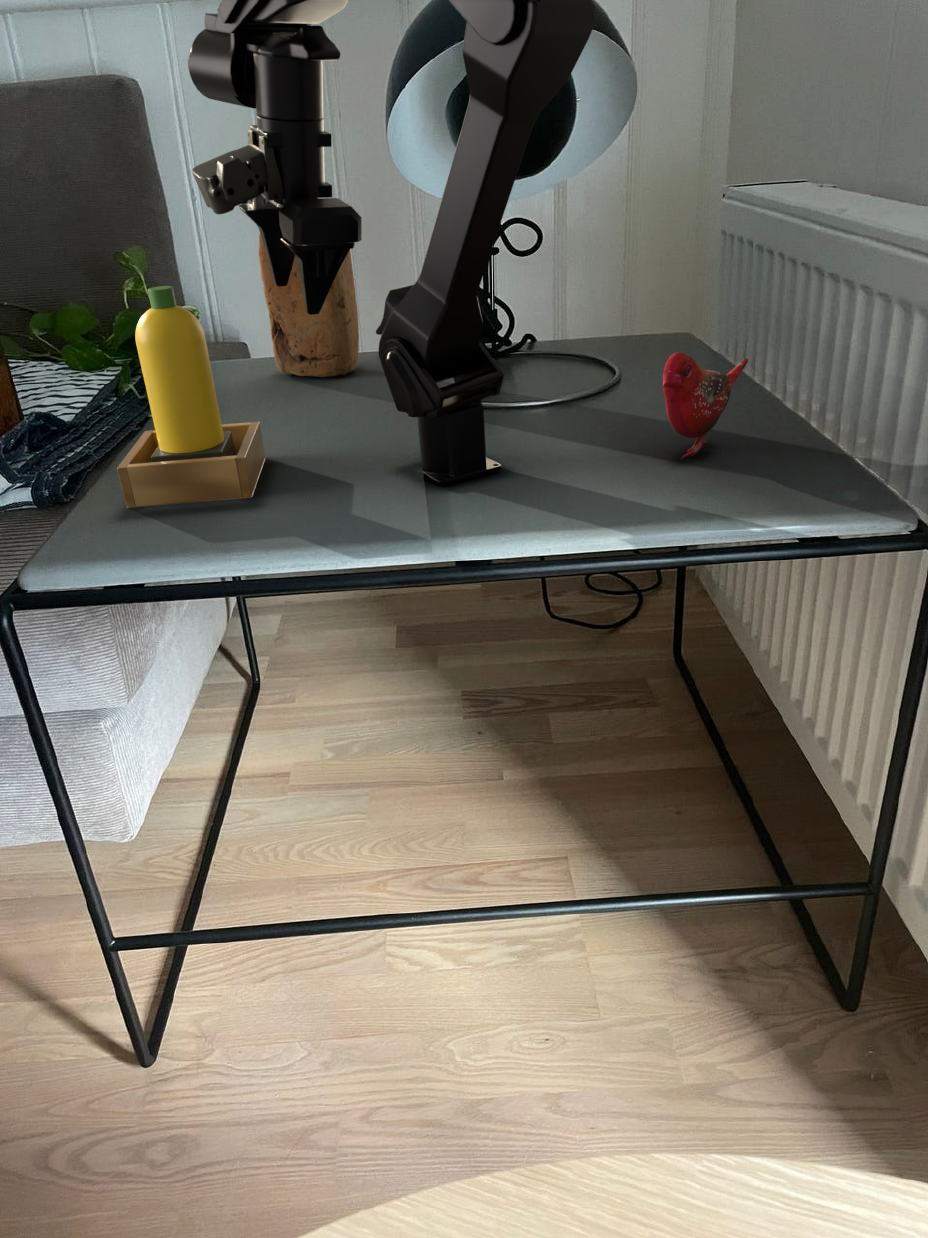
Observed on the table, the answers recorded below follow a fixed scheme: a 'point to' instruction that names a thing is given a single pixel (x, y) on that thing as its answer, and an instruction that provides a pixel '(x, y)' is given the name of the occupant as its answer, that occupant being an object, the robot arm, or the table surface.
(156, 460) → the grey block
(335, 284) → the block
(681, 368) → the decorative bird figurine
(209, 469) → the crate
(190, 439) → the lemon bottle
